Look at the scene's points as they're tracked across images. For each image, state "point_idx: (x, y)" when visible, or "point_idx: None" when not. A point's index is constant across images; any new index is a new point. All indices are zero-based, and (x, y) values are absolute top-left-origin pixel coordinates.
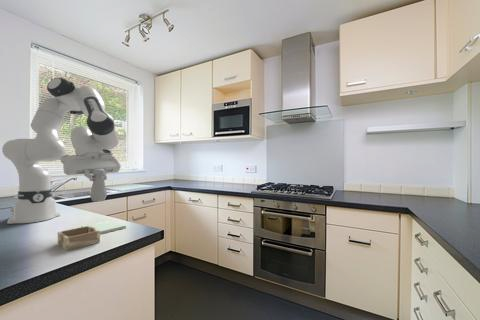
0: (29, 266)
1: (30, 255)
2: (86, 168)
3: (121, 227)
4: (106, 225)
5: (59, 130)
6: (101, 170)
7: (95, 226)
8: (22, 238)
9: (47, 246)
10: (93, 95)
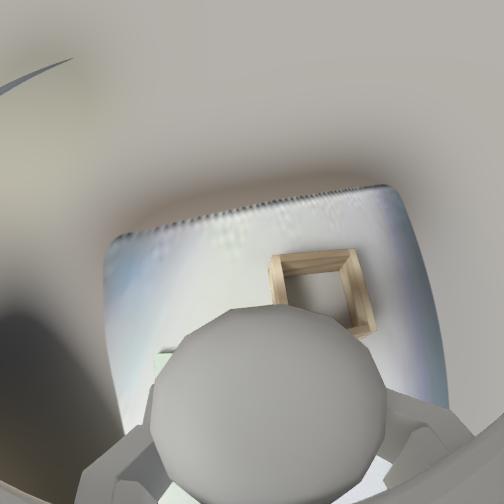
0: (390, 230)
1: (401, 289)
2: (486, 433)
3: (171, 353)
4: None
5: None
6: (238, 308)
7: None
8: None
9: (380, 332)
10: None
